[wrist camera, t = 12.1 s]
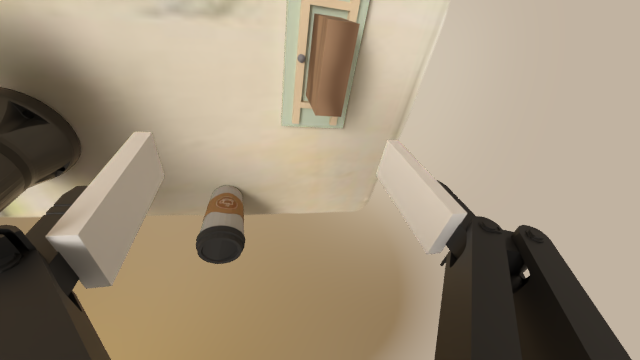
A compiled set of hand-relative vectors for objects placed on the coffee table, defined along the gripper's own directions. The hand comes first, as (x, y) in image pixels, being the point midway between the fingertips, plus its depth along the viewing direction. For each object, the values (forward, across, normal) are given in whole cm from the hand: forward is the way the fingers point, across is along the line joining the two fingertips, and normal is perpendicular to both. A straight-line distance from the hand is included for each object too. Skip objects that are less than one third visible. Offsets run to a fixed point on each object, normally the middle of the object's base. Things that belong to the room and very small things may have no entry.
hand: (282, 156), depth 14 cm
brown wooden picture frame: (+30, +9, 0) cm, 31 cm away
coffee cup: (+32, -8, -30) cm, 45 cm away
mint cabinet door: (+32, +9, 0) cm, 33 cm away
